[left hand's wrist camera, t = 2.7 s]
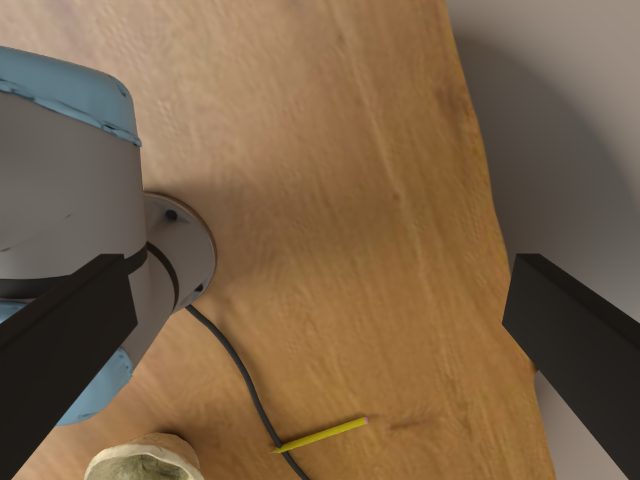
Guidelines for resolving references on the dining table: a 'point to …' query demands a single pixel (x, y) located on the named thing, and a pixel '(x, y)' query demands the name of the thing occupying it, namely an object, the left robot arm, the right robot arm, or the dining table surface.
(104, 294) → the left robot arm
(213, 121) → the dining table surface
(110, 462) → the bowl
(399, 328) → the dining table surface
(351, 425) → the pencil
